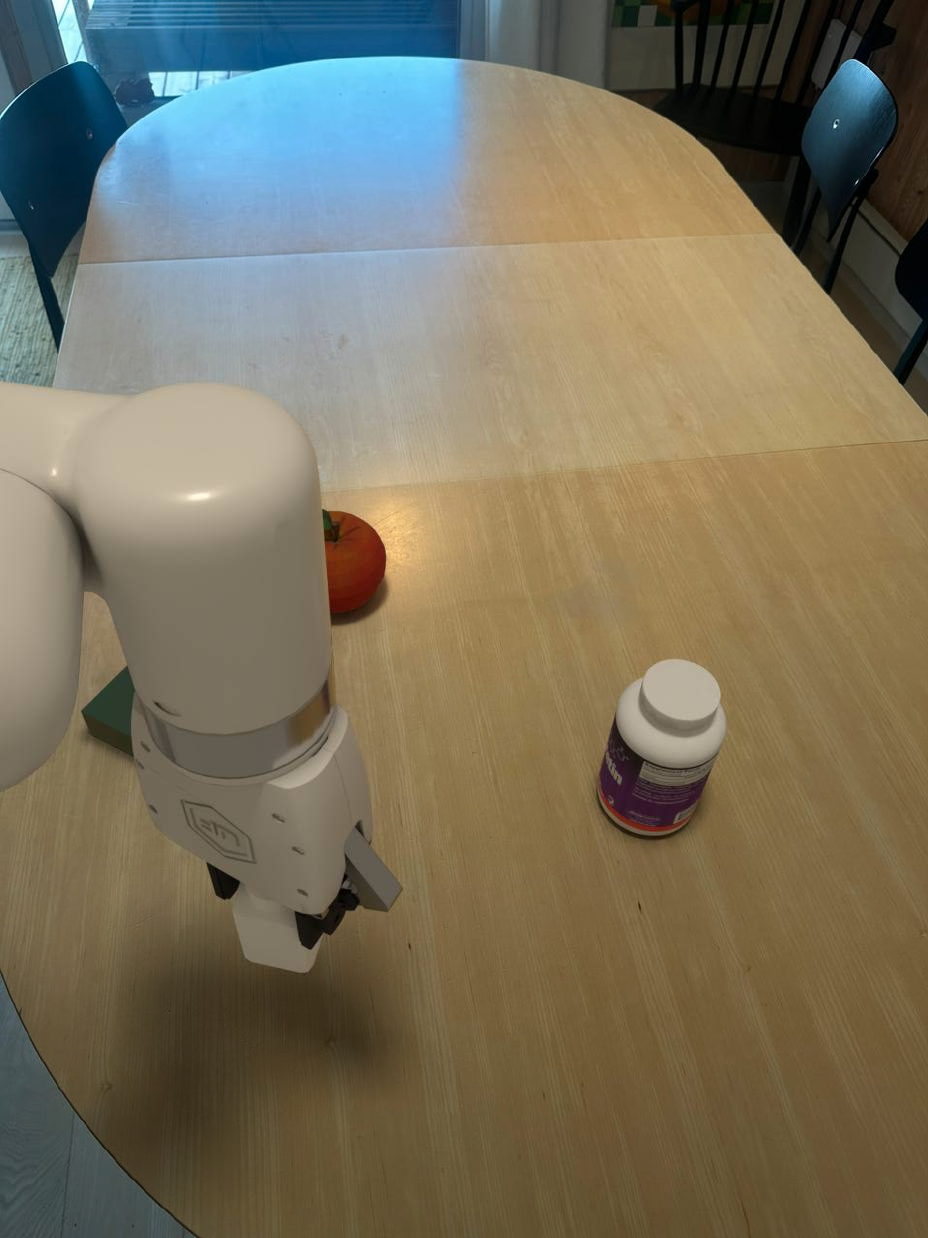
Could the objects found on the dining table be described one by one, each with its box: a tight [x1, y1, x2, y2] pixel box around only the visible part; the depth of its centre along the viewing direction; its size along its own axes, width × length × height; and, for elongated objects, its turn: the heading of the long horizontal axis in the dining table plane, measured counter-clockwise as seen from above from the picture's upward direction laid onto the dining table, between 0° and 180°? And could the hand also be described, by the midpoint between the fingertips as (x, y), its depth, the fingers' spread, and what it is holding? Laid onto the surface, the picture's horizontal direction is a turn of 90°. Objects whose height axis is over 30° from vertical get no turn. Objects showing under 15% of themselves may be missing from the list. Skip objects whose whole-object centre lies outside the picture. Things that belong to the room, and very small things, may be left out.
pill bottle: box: [596, 658, 727, 837], centre depth 73 cm, size 8×8×14 cm
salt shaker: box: [231, 881, 325, 974], centre depth 51 cm, size 4×4×10 cm
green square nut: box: [80, 665, 135, 757], centre depth 81 cm, size 12×10×5 cm
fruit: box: [322, 508, 387, 614], centre depth 89 cm, size 10×10×10 cm
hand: (280, 898), depth 51 cm, fingers closed on salt shaker, 4 cm apart
